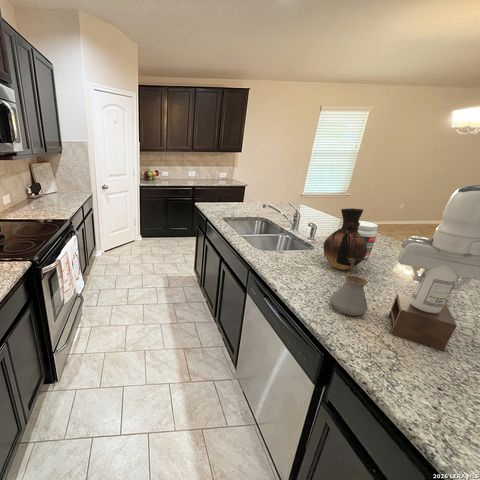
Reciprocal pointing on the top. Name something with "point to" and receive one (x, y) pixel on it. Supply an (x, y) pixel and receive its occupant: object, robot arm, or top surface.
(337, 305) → the coffee pot
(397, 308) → the shelf
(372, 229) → the supplement tub
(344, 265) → the ceramic vessel
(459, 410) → the top surface
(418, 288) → the bath foam
